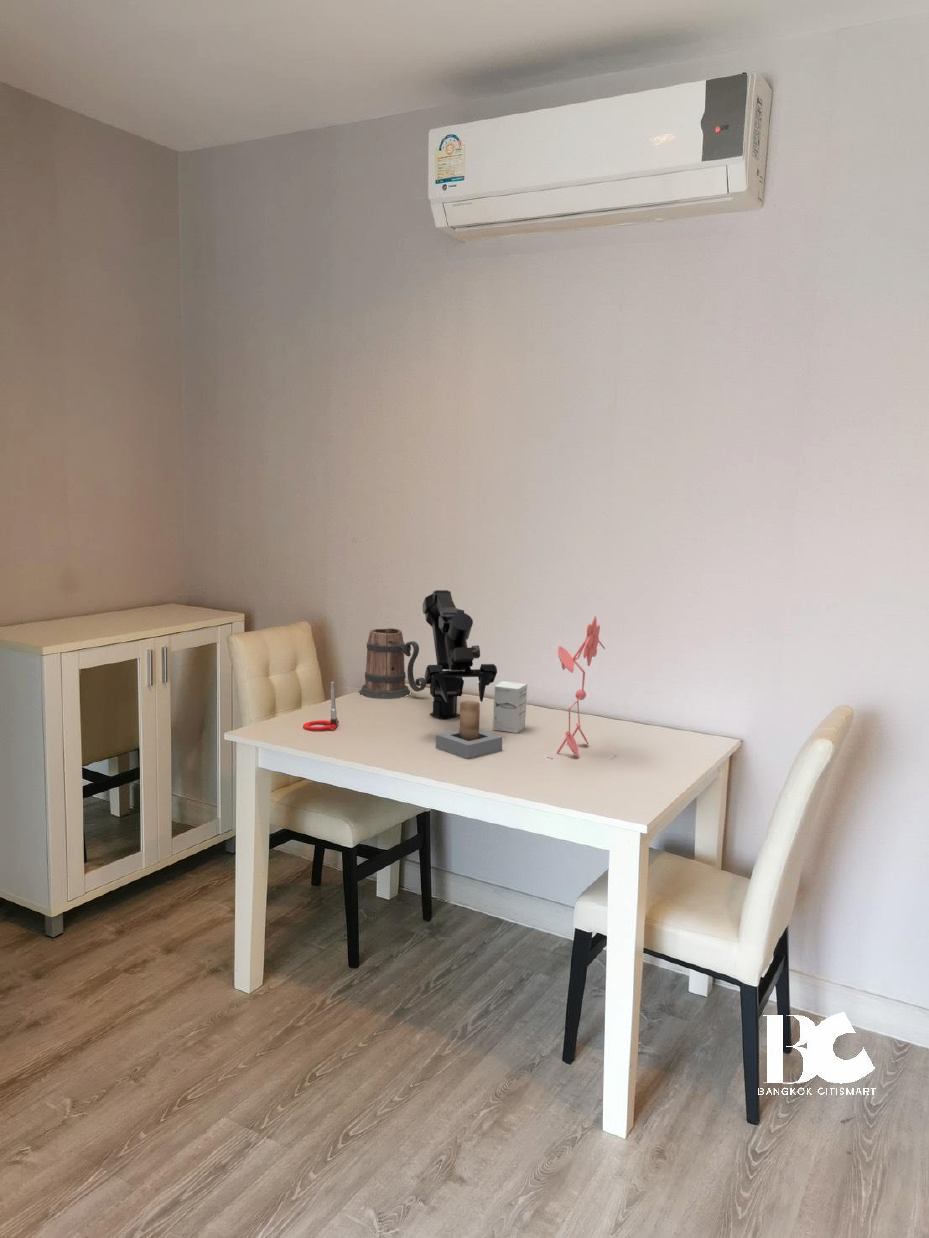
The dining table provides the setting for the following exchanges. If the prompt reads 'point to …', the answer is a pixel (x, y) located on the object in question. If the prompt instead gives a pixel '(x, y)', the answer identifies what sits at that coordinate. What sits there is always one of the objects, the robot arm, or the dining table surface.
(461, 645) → the robot arm
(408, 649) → the tankard
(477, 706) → the walnut peg
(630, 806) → the dining table surface
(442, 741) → the socket block
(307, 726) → the tow hook
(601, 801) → the dining table surface
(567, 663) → the figurine
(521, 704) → the supplement box
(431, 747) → the dining table surface
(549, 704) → the dining table surface
